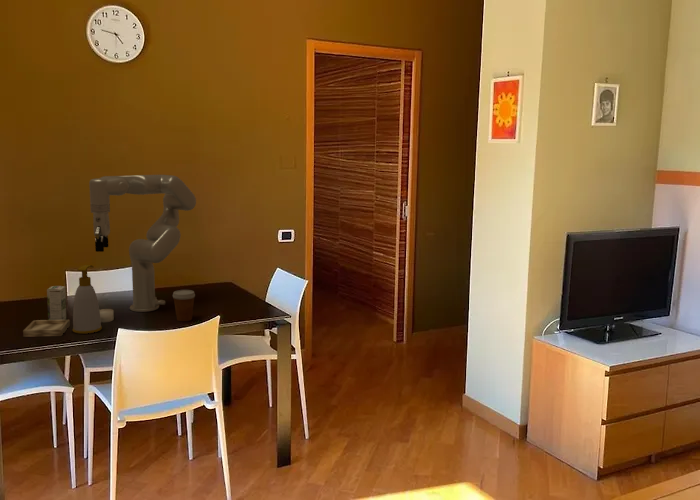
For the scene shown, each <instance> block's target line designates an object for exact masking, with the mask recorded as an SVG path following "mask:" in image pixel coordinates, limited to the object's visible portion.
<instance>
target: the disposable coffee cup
mask: <svg viewBox="0 0 700 500" xmlns="http://www.w3.org/2000/svg"><path fill="white" fill-rule="evenodd" d="M195 297H196V294H195V291H194V290H191V289H180V290H175V291H173V293H172V298H173V304H174V309H175V316H176V321H178V322H189V321H192V320H193V312H194V304H195V303H194V302H195Z"/></svg>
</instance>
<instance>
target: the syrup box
mask: <svg viewBox="0 0 700 500" xmlns="http://www.w3.org/2000/svg"><path fill="white" fill-rule="evenodd" d="M46 297H47V298H46V299H47V302H46V303H47V320H67V299H66V298H67V296H66V286H62V285H53V286H52V285H51V286H49V288H47V289H46Z"/></svg>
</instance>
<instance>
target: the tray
mask: <svg viewBox="0 0 700 500" xmlns="http://www.w3.org/2000/svg"><path fill="white" fill-rule="evenodd" d="M70 326H71V320H70V319H66V320H48V319H40V320H39V319H37V320H35V319H34V320H32V321H31V322H30V323H29V324H28V325H27V326H26V327H25V328H24V329H23V330H22V333H23V335H22V337H24V338H29V337H31V338H32V337H34V338H35V337H62V336H63V335H64V334H63V333H66V331H67V330H68V329H67V328H69V327H70Z"/></svg>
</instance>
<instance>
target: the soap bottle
mask: <svg viewBox="0 0 700 500" xmlns="http://www.w3.org/2000/svg"><path fill="white" fill-rule="evenodd" d="M88 268H94V265H92V264H91V265H90V264H89V265H88V264H85V265H80V266H79V267H78V268H77V269H76V271H77V272H81V276H79V278H78V287H77V288H76V291H75V293H74V300H73V309H72V325H73V326H72V332H73V333H74V334H80V335H87V334H88V333H89V334H95V333H97V332H100V331H101V330H102V329H103V328H102V327H103V326H102V325H101V324H102V322H101V319H100V311H99V310H100V306H99V300H98V297H97V294H96V291H95V289H94V286H93V285H92V282H91V276H88ZM94 332H95V333H94Z"/></svg>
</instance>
